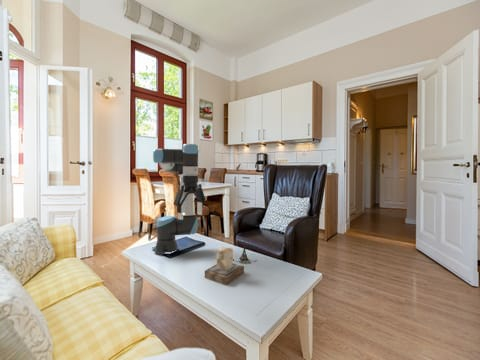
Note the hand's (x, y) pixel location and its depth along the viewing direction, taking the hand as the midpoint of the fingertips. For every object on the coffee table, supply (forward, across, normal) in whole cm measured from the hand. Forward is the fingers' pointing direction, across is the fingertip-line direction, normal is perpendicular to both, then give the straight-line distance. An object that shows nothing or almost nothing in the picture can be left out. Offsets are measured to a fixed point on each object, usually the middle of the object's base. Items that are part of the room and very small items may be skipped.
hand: (190, 216), depth 120 cm
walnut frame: (+32, +12, -13) cm, 36 cm away
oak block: (+28, +12, -13) cm, 33 cm away
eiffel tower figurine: (+32, +35, -11) cm, 49 cm away
